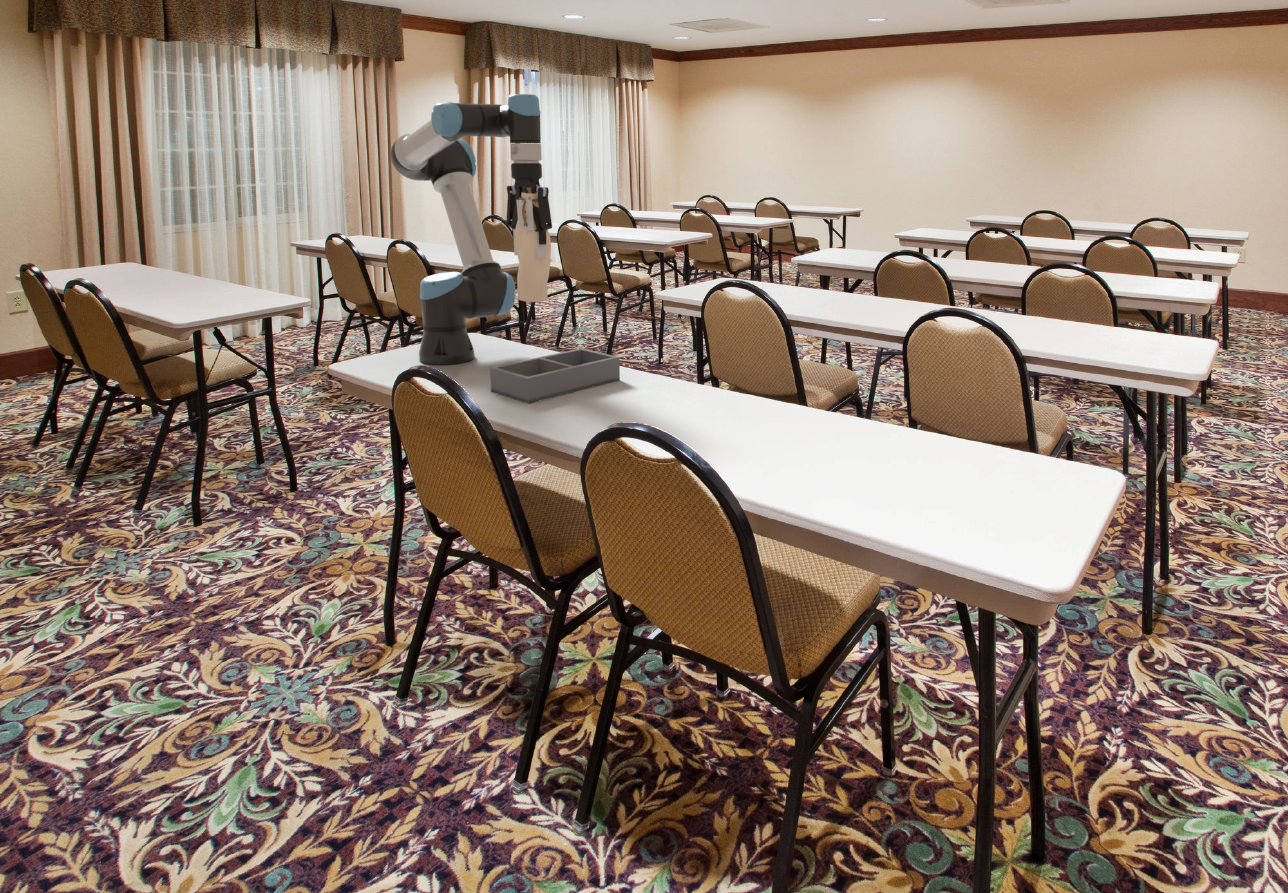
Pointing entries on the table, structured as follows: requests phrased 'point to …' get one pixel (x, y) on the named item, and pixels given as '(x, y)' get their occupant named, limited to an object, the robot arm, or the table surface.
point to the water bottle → (530, 252)
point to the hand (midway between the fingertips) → (530, 256)
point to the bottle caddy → (554, 375)
